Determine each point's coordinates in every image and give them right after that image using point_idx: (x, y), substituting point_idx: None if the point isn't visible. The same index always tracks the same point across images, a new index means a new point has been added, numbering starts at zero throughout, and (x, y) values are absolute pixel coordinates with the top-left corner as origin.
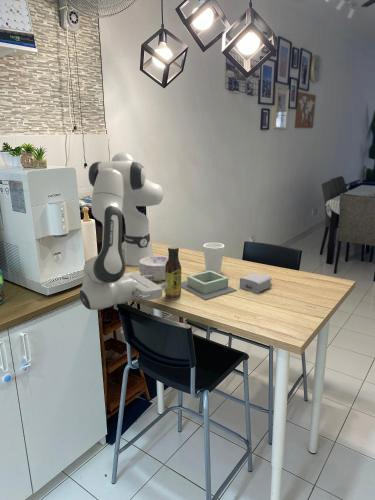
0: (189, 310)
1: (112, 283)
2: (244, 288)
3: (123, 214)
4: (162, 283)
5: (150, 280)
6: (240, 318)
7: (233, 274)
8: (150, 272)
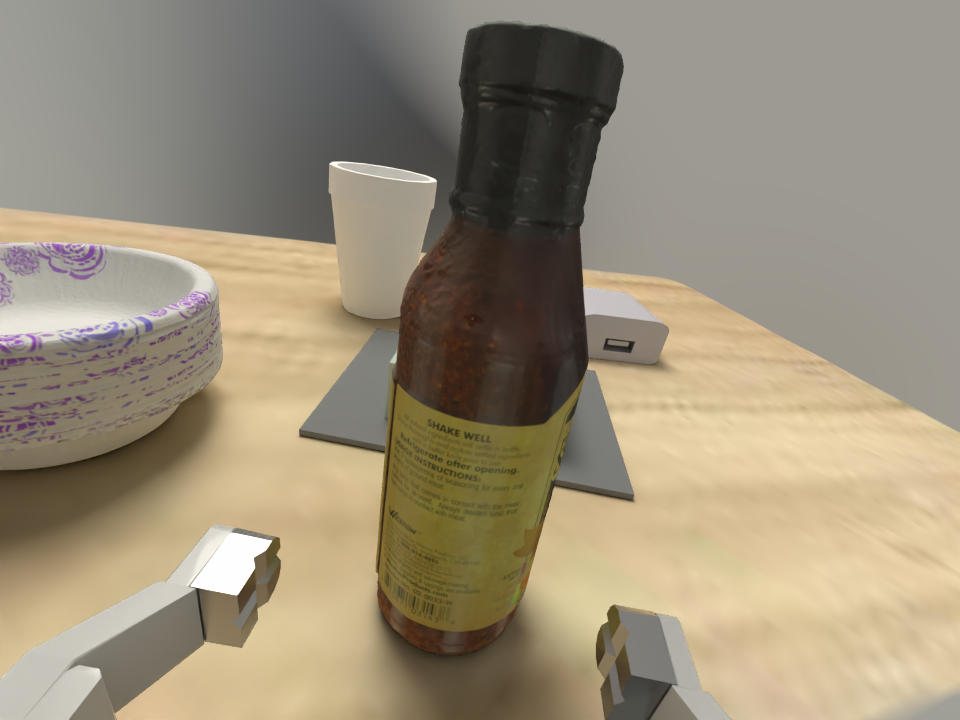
0: (777, 701)
1: None
2: (594, 355)
3: None
4: (653, 670)
5: (243, 638)
6: (939, 556)
7: None
8: (24, 415)
